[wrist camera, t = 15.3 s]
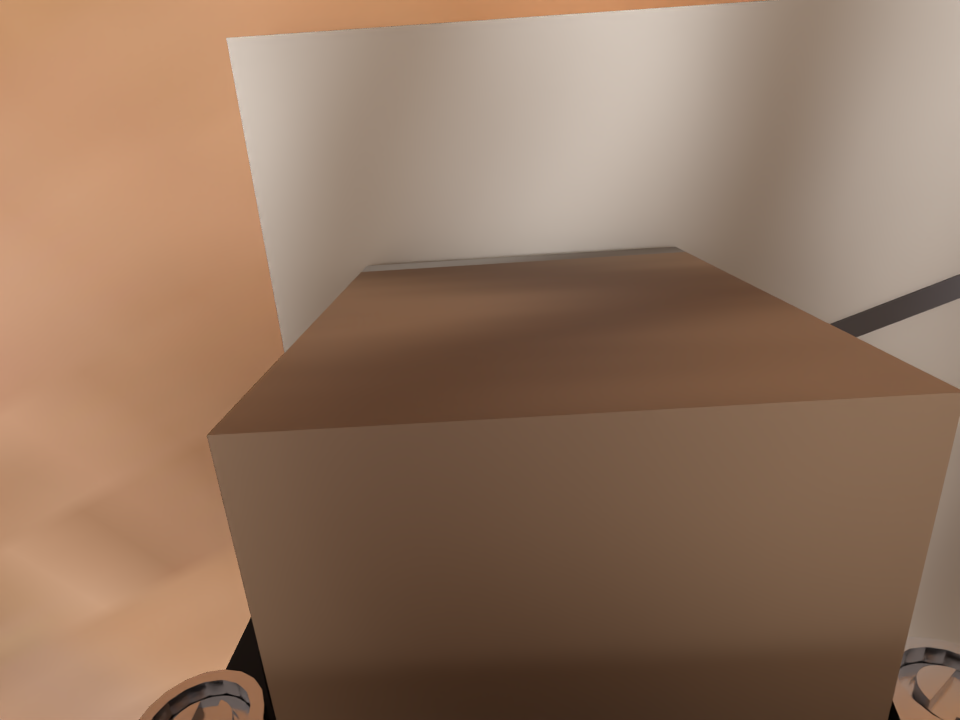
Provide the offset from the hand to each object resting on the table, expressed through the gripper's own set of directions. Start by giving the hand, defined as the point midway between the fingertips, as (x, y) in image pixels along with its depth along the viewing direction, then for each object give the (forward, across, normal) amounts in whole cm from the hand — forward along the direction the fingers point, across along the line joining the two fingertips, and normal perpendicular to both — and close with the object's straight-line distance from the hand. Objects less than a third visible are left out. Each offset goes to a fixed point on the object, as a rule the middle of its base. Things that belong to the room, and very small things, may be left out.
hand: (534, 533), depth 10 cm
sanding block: (+1, 0, 0) cm, 1 cm away
